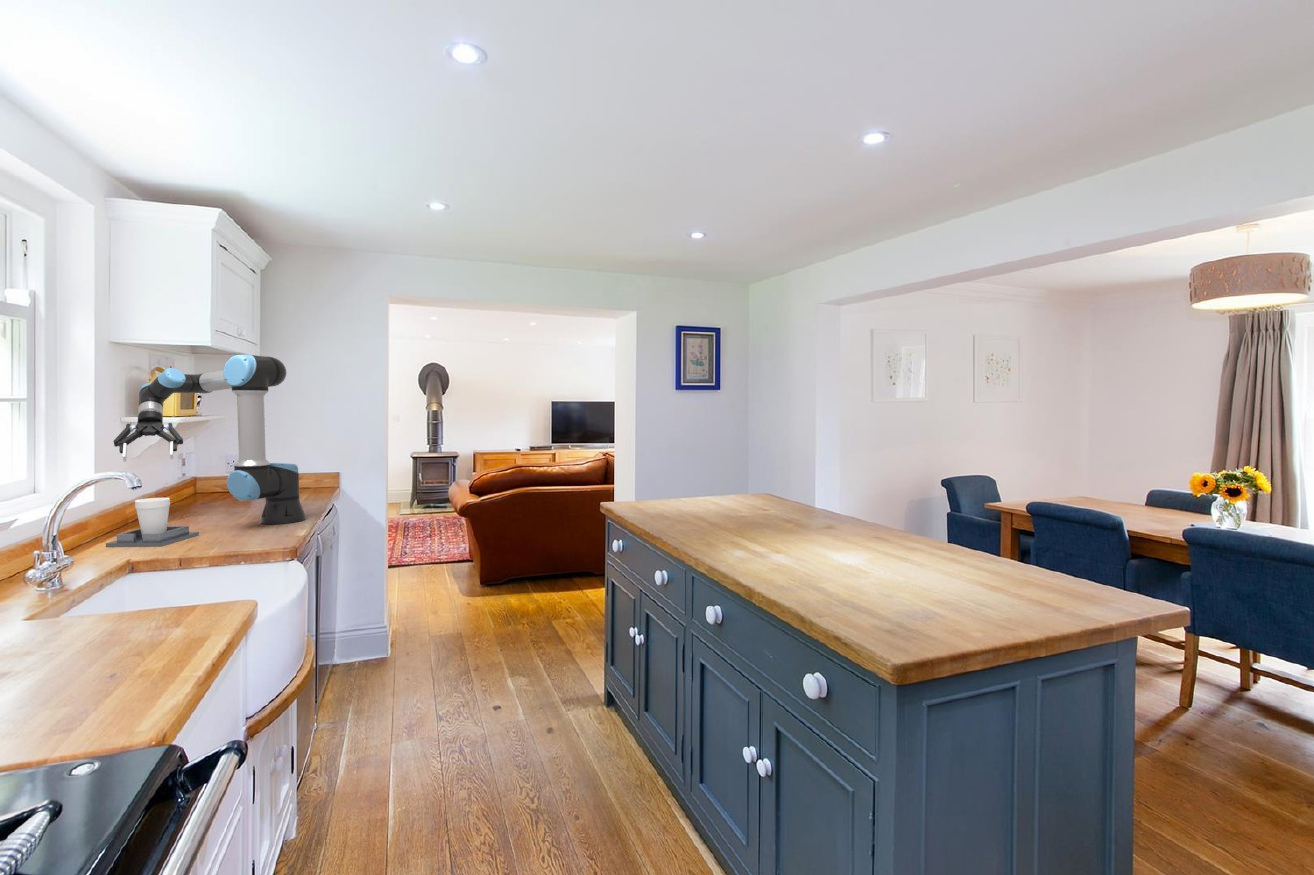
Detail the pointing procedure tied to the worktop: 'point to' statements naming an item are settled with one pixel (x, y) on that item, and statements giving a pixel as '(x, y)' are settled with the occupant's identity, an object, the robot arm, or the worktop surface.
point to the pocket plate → (152, 537)
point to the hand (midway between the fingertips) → (148, 458)
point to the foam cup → (153, 514)
